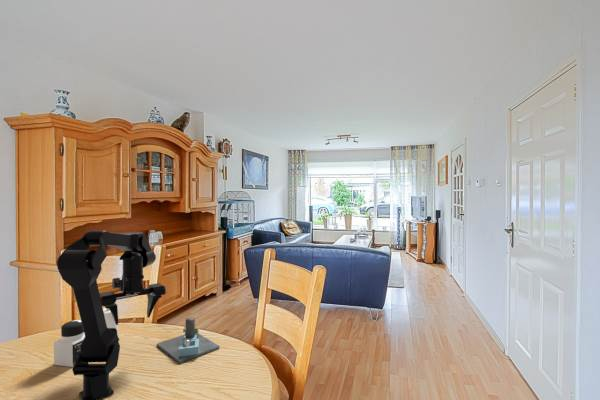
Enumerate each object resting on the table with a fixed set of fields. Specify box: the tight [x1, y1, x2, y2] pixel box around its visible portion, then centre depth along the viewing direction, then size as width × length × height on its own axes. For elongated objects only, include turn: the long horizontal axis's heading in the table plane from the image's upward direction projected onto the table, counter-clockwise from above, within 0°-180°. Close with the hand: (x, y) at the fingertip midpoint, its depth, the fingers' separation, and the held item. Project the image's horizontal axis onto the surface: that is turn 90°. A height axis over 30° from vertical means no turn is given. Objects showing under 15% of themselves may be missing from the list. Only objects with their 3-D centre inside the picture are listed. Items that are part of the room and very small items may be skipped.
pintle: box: [185, 339, 190, 347], centre depth 105 cm, size 2×2×5 cm
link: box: [179, 317, 199, 357], centre depth 110 cm, size 14×6×8 cm, turn 15°
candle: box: [103, 307, 119, 335], centre depth 116 cm, size 6×6×15 cm
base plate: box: [156, 322, 220, 365], centre depth 110 cm, size 17×14×5 cm
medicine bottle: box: [53, 319, 85, 368], centre depth 101 cm, size 7×7×12 cm
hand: (133, 320), depth 103 cm, fingers open, 9 cm apart
